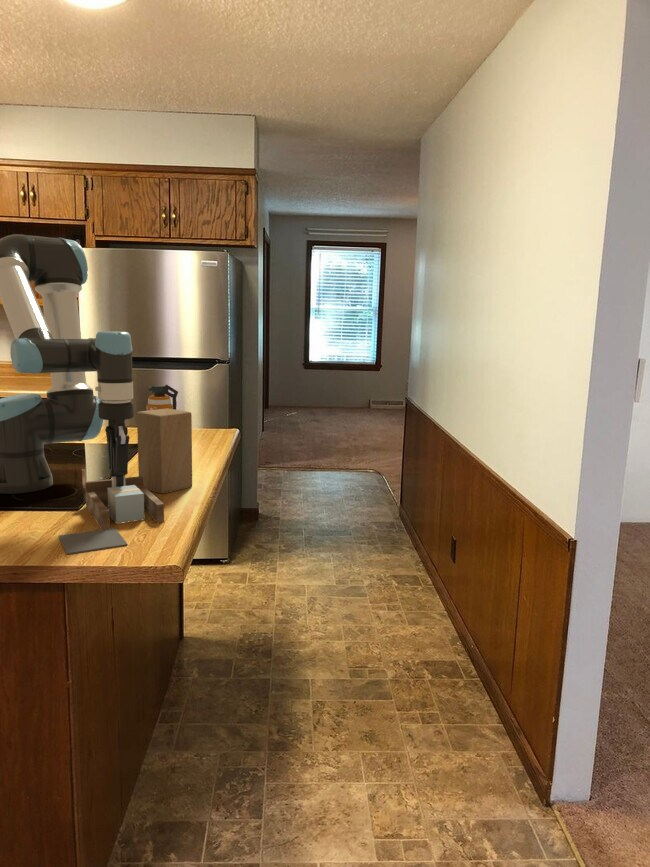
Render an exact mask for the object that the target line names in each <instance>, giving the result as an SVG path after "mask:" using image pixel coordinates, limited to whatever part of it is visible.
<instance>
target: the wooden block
mask: <svg viewBox="0 0 650 867" xmlns="http://www.w3.org/2000/svg"><path fill="white" fill-rule="evenodd" d="M136 418H137V419H136V423H137V424H136V425H137V461H138V463H137V466H138V476H142V477H143V486H145V487H146V488H147V489H148V490H149V491H150V492H154V493H157V494H161V495H163V494H167V493H172V492H175V491H179V490H184V489H190V488H192V487H193V439H192V438H193V436H192V435H193V433H192V431H193V430H192V428H193V427H192V426H193V424H192V423H193V421H192V418H193V416H192V412H191V411H184V410H180V409H176V410H175V409H173V408H172V409H169V408H166V409H157V410H148V411H147V410H141V411H137V412H136Z"/></svg>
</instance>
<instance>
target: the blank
mask: <svg viewBox="0 0 650 867" xmlns="http://www.w3.org/2000/svg"><path fill="white" fill-rule="evenodd" d="M107 509H108V510H109V517H110V518H111V519H112V520H113V522H114V523H115V522H116V523H115V524H116V525H117V523H118V524H123V523H122V522H126V523H129V522H128V521H133V522H135V521H134V520H141V521H143V520H142V519H144V520H145V509H144V493H143V492H142V491H141V490H140V489H139V488H137V487H136V486H135V485H130V486H120V487H111V488H108V506H107Z"/></svg>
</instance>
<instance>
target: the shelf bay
mask: <svg viewBox="0 0 650 867" xmlns="http://www.w3.org/2000/svg"><path fill="white" fill-rule="evenodd" d="M125 485H126V486H130V485H135V486H136V487H137V488H139V489H140V490H141V491H142V492H143V493H144V511H145V512H146V511H147V512H148V513H149V514H150V515H151V516H152V517H153V518H154V519H155V520H156V521H157V522H158V523H164V522H165V503H164V502H162V501H161V500H160V499H159V498H158V497H157V496H156V495H154V494H153V492H152V491H151V490H148V489H147V488H146V487H145V486H143V477H142V476H139V475H138V476H130V477H125ZM111 487H112V478H111V479H109V478H108V479H100V480H91V481H90V480H89V481H85V482H84V490H85V507H86V509H87V510H88V512H89V513H90V515H91V516H92V517H93V519H94V520H95V522H96V523H97V524H98V526H99V528H100V527H101V528H100V530H102V529H109V528H111V527H110V526H111V525H110V515H109V510H108V488H111ZM147 512H146V513H147ZM149 514H148V515H149ZM150 515H149V516H150ZM151 516H150V517H151ZM152 517H151V518H152ZM153 518H152V519H153ZM155 520H154V521H155ZM156 521H155V522H156ZM162 521H163V522H162ZM157 522H156V523H157Z"/></svg>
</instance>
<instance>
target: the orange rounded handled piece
mask: <svg viewBox="0 0 650 867" xmlns="http://www.w3.org/2000/svg"><path fill="white" fill-rule="evenodd" d="M148 391H150V392H151V394H152V395H150V396H148V398H147V404H146V411H148V410H157V409H166V408H169V409H175V410H177V407H178V405H177V396H178V394H179V390H176V389H174V388H173V387H172V386H169V385H168V384H165V385H151V386H150V387H148ZM170 391H171V392H170ZM171 398H172V401H171Z"/></svg>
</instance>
